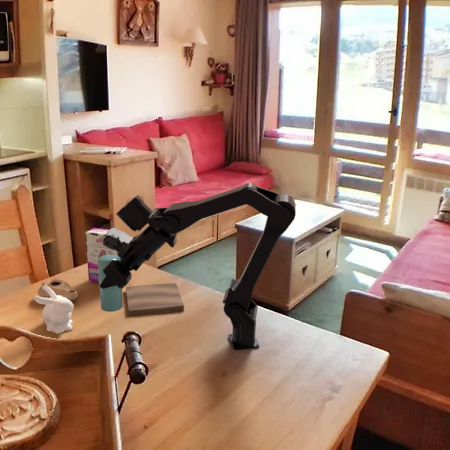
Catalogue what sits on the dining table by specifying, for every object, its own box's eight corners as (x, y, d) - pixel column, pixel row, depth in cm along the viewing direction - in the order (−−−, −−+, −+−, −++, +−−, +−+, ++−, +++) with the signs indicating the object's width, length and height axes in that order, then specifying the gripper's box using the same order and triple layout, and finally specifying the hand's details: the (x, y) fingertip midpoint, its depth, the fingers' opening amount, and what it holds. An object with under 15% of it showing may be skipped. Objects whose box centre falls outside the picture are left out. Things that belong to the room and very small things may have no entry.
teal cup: (123, 310, 128) (121, 262, 124) (100, 312, 127) (97, 264, 123) (122, 300, 133) (120, 253, 129) (100, 302, 132) (97, 255, 128)
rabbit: (78, 333, 130) (75, 290, 127) (39, 341, 126) (34, 297, 123) (69, 312, 141) (66, 272, 137) (33, 319, 137) (28, 278, 133)
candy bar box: (128, 280, 160) (126, 231, 155) (120, 287, 156) (118, 236, 151) (96, 275, 164) (93, 226, 158) (87, 282, 159) (84, 231, 154)
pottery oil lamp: (67, 310, 141) (52, 290, 138) (44, 310, 149) (29, 291, 146) (88, 288, 147) (74, 269, 144) (65, 290, 155) (51, 271, 152)
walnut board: (183, 310, 143) (183, 305, 143) (129, 315, 140) (128, 310, 139) (175, 287, 157) (175, 282, 156) (126, 291, 154) (125, 286, 153)
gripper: (134, 208, 131) (95, 246, 136) (109, 232, 113) (65, 275, 118) (165, 239, 132) (125, 275, 137) (145, 268, 115) (100, 308, 120)
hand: (105, 282), depth 128 cm, fingers closed on teal cup, 5 cm apart
